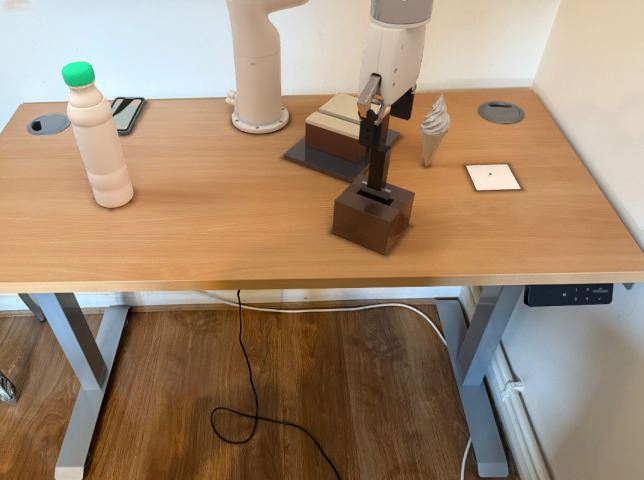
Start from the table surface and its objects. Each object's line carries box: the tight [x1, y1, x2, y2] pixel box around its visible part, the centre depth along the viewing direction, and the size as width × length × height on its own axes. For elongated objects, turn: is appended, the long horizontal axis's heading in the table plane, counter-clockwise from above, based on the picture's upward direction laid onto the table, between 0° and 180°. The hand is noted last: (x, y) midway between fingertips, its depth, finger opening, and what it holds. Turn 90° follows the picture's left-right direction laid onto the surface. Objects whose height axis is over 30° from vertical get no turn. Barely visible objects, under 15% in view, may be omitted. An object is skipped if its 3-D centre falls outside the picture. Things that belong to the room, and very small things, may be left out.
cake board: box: [283, 128, 401, 184], centre depth 109 cm, size 16×20×1 cm
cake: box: [318, 92, 391, 152], centre depth 109 cm, size 12×8×6 cm, turn 55°
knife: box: [361, 144, 393, 206], centre depth 86 cm, size 5×2×16 cm, turn 55°
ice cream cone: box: [419, 92, 451, 167], centre depth 99 cm, size 5×5×15 cm
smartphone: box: [110, 96, 146, 136], centre depth 120 cm, size 7×1×15 cm
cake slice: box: [304, 111, 366, 164], centre depth 105 cm, size 12×4×6 cm, turn 55°
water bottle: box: [61, 60, 134, 209], centre depth 91 cm, size 7×7×25 cm
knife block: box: [331, 173, 416, 256], centre depth 89 cm, size 10×9×7 cm
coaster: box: [465, 164, 521, 191], centre depth 100 cm, size 8×8×1 cm
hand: (385, 131), depth 78 cm, fingers open, 9 cm apart
